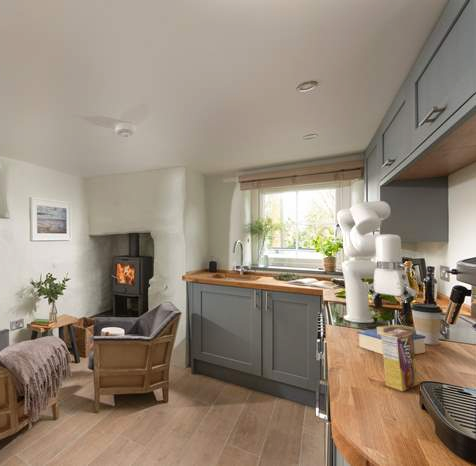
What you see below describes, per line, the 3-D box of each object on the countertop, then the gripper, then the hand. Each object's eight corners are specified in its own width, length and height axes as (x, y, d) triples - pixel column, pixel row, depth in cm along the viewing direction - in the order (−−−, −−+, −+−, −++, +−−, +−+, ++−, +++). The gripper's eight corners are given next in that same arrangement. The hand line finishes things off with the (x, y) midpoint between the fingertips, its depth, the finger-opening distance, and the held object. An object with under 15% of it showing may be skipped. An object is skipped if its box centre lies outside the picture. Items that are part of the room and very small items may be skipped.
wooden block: (402, 329, 117) (401, 322, 117) (415, 332, 113) (415, 325, 113) (374, 333, 113) (373, 326, 113) (386, 336, 109) (386, 329, 109)
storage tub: (388, 341, 120) (387, 327, 121) (426, 352, 108) (425, 336, 108) (358, 346, 116) (357, 331, 116) (393, 358, 104) (392, 341, 104)
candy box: (400, 378, 89) (396, 328, 89) (418, 384, 85) (414, 332, 85) (383, 385, 85) (380, 332, 86) (402, 391, 81) (398, 336, 82)
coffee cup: (412, 342, 119) (409, 305, 119) (412, 337, 125) (409, 302, 126) (446, 348, 112) (443, 308, 113) (444, 341, 119) (441, 304, 119)
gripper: (423, 267, 107) (426, 314, 106) (372, 264, 123) (375, 304, 123) (408, 268, 105) (411, 316, 104) (359, 265, 122) (361, 306, 121)
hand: (391, 309), depth 114 cm, fingers open, 9 cm apart
